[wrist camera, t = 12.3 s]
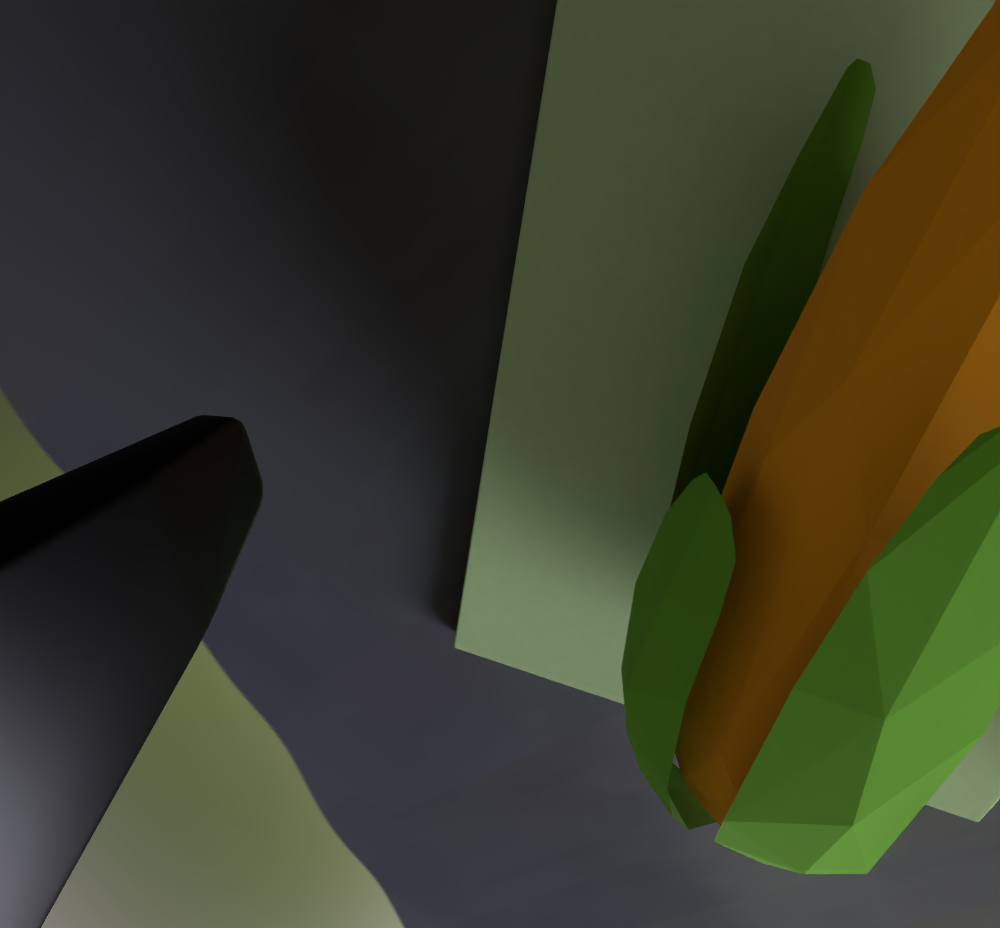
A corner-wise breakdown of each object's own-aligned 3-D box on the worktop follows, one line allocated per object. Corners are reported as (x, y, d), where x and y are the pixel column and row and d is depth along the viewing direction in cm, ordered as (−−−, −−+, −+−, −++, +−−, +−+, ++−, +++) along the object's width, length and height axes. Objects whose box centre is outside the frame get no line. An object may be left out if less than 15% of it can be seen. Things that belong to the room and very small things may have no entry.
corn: (562, 919, 20) (858, -163, 8) (606, 659, 26) (814, -190, 14) (902, 1010, 19) (1855, -49, 7) (867, 720, 25) (1345, -131, 13)
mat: (458, 636, 28) (453, 647, 28) (628, -409, 13) (622, -415, 13) (976, 808, 26) (978, 823, 26) (1890, -220, 11) (1928, -221, 11)
